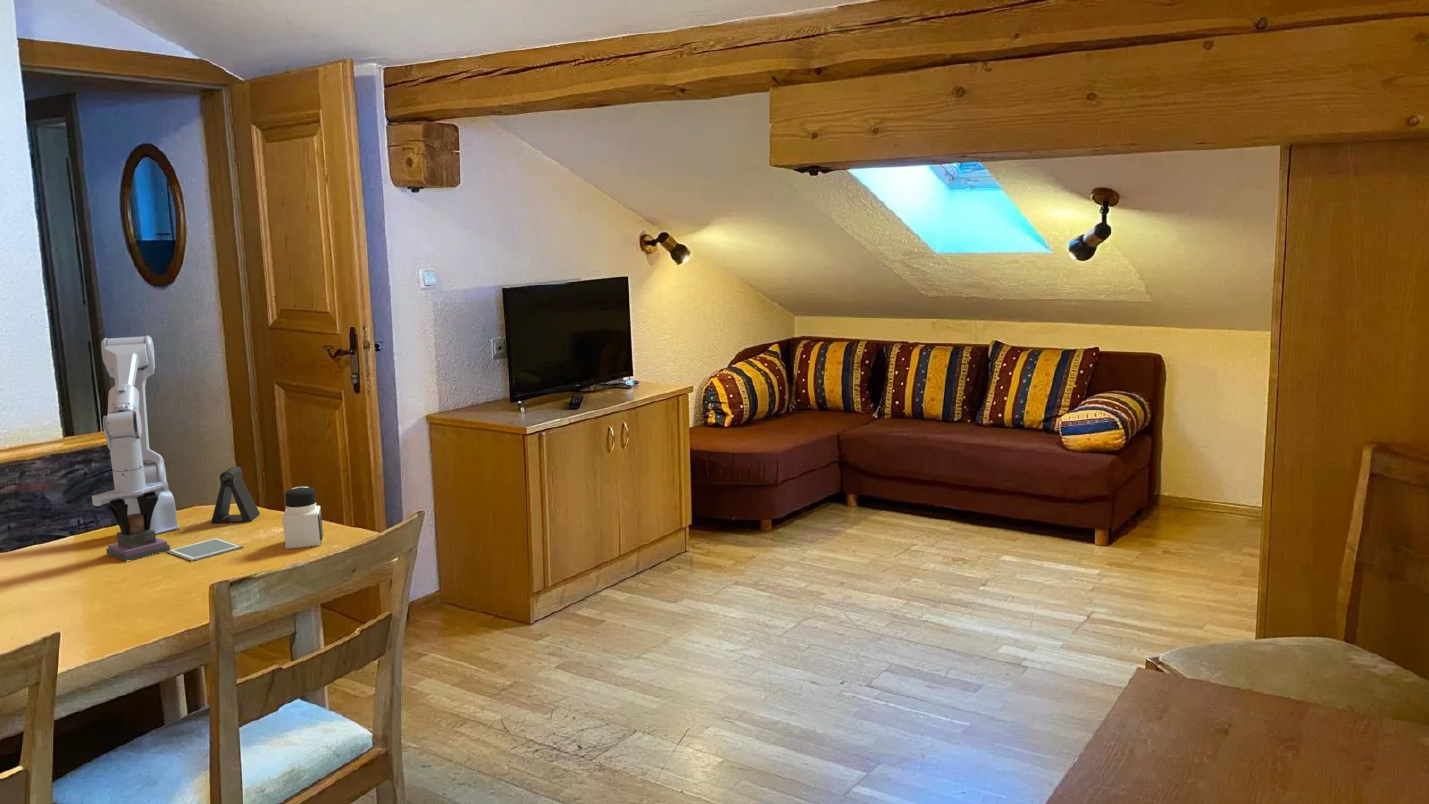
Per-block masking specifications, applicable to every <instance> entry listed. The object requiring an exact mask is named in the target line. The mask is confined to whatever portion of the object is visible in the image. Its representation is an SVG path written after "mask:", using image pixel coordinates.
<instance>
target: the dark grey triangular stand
mask: <svg viewBox="0 0 1429 804" xmlns="http://www.w3.org/2000/svg"><path fill="white" fill-rule="evenodd" d="M219 480H220V481H219V482H220V488H219V491H218V495H217V498H216V502H215V506H214V510H213V513H212V517H211V521H210V523H211V524H212V525H217V524H218V525H219V524H231V523H232V524H235V523H236V524H237V523H238V524H239V523H251V522H253V521H254V520H255V519H256V518H257V517H258V516H260V515H261V513H260V510H259V508H258V506H257V504H256V502H255V500H254V498H253V497H252V495H251V492H250V490H249V489H248V487H247V485H246V483H245V480H244V477H243V470H242V468H241V467H240V466H237V465H236V466H235V467H234V466H231V467H230V468H228V469H226V470H225V471H224V472H222V473H220V475H219ZM232 496H233V498H234V501H235V503H236V505H237V508H238V512H239V514H230V510H231V509H230V508H231V503H232Z"/></svg>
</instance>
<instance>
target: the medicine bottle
mask: <svg viewBox="0 0 1429 804" xmlns="http://www.w3.org/2000/svg"><path fill="white" fill-rule="evenodd" d="M316 497H317V496H316V490H315V489H314V488H313V487H309V486H296V487H293V488H290V489H288V490H287V491H285V493H284V500H285V510H284V513H283V516H282V525H283V536H284V544H285V545H284V546H285V547H284V548H285V549H286V550H290V549H299V548H300V549H301V548H310V546H312V547H320V546H322V543H323V538H324V533H323V532H324V530H323V519H322V509H321V508H322V507H321V506H320V505H317V498H316Z"/></svg>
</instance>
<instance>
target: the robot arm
mask: <svg viewBox="0 0 1429 804" xmlns="http://www.w3.org/2000/svg"><path fill="white" fill-rule="evenodd" d="M100 345H101V348H100V349H101V356H102V357H101V359H102V362H103V364H104V366H105V369H106V372H107V373H108V375H109V377H111V378H113V379H114V385H113V387H111V388H110V389H109V391H108V398H107V399H108V402H107V403H108V405H107V415H103V418H102V419H103V420H102V425H103V426H102V427H103V434H104V436H105V440H106V444H107V449H108V450H109V454H110V461H111V462H110V463H111V470H112V476H113V477H112V478H113V484H114V489H112V490H108V491H104V492H102V493H98V494H94V495H92V496H91V500H92V501H91V502H92V505H93V506H96V507H100V506H103V505H104V504H105V506H106V508H107V509H108V510H109V511H110V512H111V514H112V516H113V517H114V519H115V521H116V522H117V524H118V527H119V529H120V532H121V533H122V534H125V535H128V534H129V525H128V516H127V515H130V514H137V513H141V514H143V516H144V524H145V529H146V530H149V529H150V530H153V531H155V535H158V534H161V533H166V532H171V531H174V530H178V529H180V526H179V525H178V517H177V508H176V501H175V497H174V496H173V493H172V492H171V491H170V489H169V483H168V481H167V472H166V467H165V460H164V458H163V456H162V455H161V454H159V453H157V452H156V451H154V450H152V449H150V441H149V439H150V438H149V427H148V426H149V425H148V414H147V413H148V412H147V410H148V409H147V401H146V400H147V397H146V384H147V379H148V378H149V377H150V376H153V374H155V369H156V363H155V347H154V341H153V338H152V337H151V336H150V335H145V336H129V337H128V336H127V337H111V338H108V337H105V338H103V339H102V340H101V344H100Z"/></svg>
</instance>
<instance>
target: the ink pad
mask: <svg viewBox="0 0 1429 804" xmlns="http://www.w3.org/2000/svg"><path fill="white" fill-rule="evenodd" d="M170 547H171V545H170V544H168V541H166V540H164V539H161V538H159V537H156V543H152V544H148V545H144V546H141V547H137V548H133V549H132V548H129V547H125V546H122V545H119V544H118V542H115V543H111V544H107V548H105V549H106V555H107V554H108V556H110V555H111V556H110V557H112V556H113V558H115V557H116V559H117V558H118V560H120V561H122V560H124V561H123V562H125V561H127V560H132V561H135V560H134V559H136V560H138V559H137V558H140V559H142V557H144V558H146V557H145V556H147V557H150V556H149V555H151V556H153V555H152V554H155V555H157V554H156V553H159V552H163V553H167V552H166V551H168V550H171V548H170ZM159 554H160V553H159Z"/></svg>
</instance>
